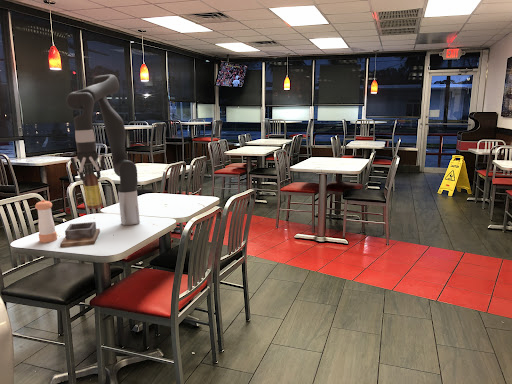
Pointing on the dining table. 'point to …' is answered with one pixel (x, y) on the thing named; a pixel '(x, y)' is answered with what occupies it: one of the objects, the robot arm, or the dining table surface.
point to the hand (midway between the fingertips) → (90, 179)
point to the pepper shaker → (46, 222)
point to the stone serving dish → (80, 234)
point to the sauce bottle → (91, 187)
